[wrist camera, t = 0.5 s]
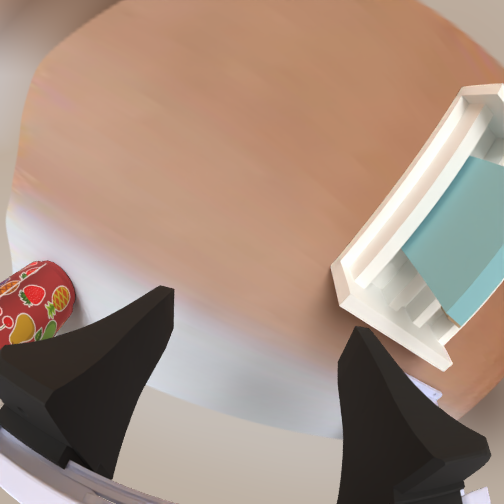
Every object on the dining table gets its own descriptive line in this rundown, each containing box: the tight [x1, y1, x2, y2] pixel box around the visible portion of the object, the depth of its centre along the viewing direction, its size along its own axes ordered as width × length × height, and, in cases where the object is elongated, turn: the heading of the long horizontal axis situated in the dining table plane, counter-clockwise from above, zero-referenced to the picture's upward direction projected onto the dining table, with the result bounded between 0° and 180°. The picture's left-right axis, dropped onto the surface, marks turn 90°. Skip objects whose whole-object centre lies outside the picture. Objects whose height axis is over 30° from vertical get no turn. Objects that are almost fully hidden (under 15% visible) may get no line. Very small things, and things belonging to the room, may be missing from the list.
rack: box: [330, 83, 504, 372], centre depth 16 cm, size 12×17×5 cm
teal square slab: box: [401, 156, 504, 326], centre depth 13 cm, size 2×8×8 cm, turn 148°
